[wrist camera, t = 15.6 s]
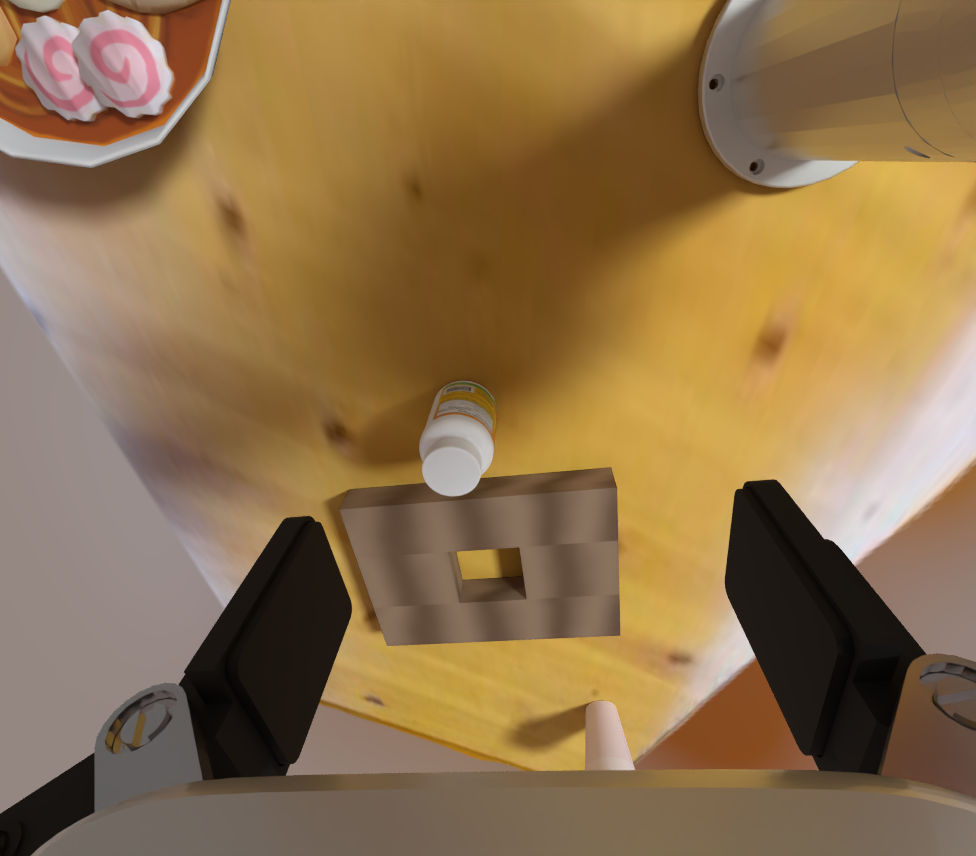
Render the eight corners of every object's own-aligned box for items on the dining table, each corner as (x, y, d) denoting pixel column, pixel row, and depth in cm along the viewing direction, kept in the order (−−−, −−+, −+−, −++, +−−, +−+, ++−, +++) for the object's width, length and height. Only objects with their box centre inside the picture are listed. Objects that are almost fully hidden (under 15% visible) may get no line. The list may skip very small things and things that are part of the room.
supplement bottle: (467, 447, 43) (455, 518, 35) (420, 408, 42) (394, 473, 33) (510, 407, 41) (508, 473, 33) (462, 365, 40) (446, 422, 31)
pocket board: (611, 467, 43) (616, 487, 41) (615, 611, 52) (620, 635, 49) (349, 489, 46) (338, 509, 44) (393, 622, 55) (387, 645, 52)
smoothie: (592, 687, 58) (612, 829, 46) (638, 704, 59) (669, 848, 47) (564, 715, 61) (575, 855, 49) (608, 731, 62) (630, 872, 50)
